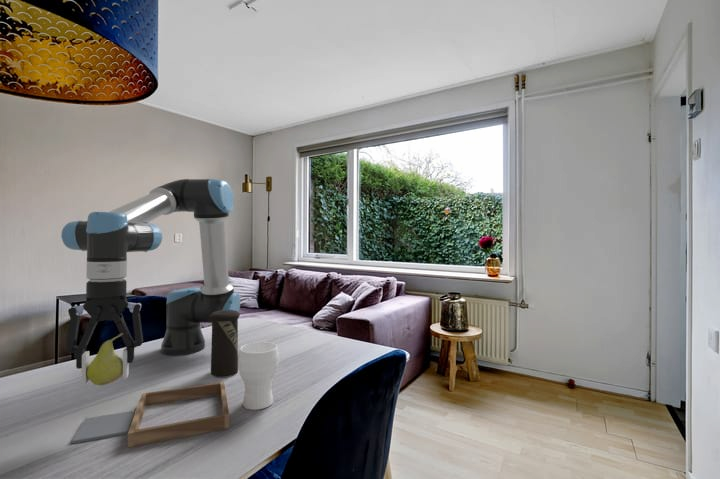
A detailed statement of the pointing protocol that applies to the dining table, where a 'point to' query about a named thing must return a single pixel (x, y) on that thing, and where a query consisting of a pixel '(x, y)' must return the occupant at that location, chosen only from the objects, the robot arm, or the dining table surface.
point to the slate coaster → (104, 426)
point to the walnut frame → (179, 428)
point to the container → (224, 343)
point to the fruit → (105, 365)
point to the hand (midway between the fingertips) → (105, 379)
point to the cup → (258, 373)
